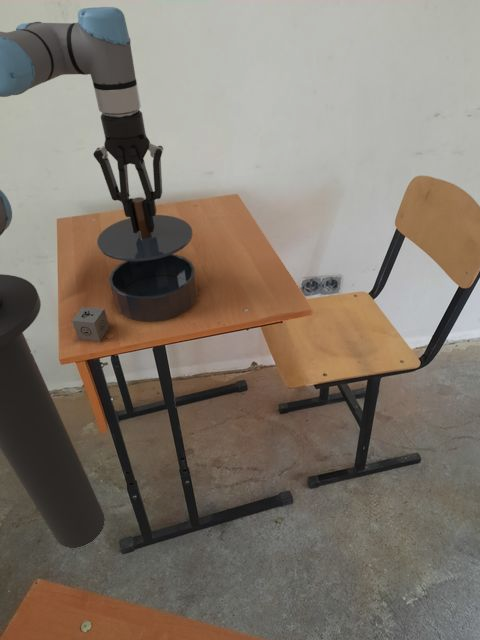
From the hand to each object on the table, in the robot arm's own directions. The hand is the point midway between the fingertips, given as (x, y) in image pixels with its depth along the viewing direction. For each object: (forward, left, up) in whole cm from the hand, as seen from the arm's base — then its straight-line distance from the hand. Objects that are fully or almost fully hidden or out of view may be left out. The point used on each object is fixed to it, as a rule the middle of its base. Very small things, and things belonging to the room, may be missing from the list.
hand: (144, 229), depth 102 cm
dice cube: (-12, -13, -18) cm, 25 cm away
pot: (0, 0, -17) cm, 17 cm away
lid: (0, 0, -2) cm, 2 cm away
